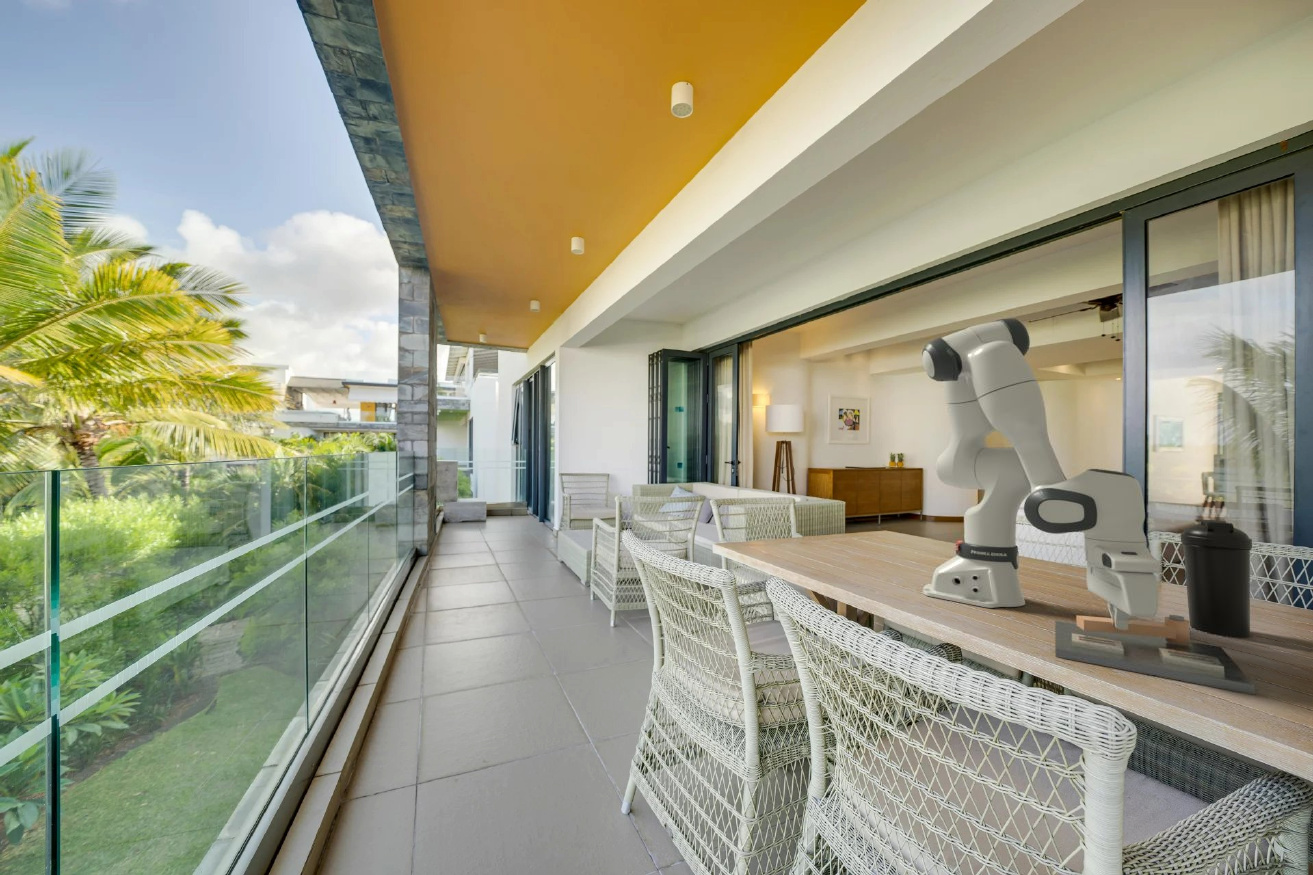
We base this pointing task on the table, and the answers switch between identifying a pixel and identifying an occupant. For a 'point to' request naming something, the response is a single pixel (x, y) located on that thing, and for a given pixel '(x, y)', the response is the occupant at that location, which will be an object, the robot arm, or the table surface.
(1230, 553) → the water bottle
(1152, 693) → the table surface
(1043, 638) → the table surface
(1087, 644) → the label panel
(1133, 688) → the table surface
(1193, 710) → the table surface
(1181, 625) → the swing bar
